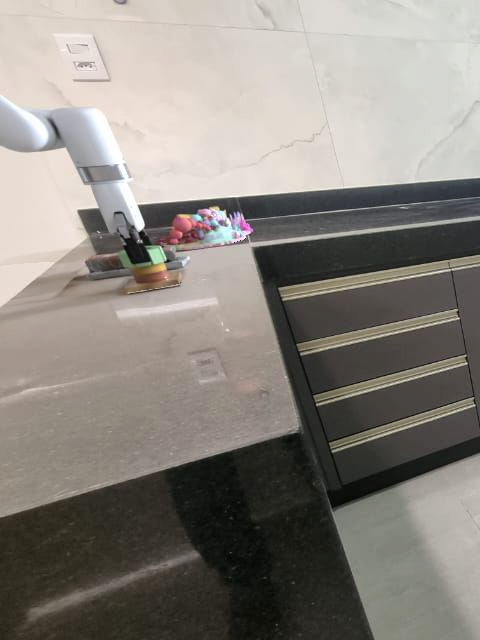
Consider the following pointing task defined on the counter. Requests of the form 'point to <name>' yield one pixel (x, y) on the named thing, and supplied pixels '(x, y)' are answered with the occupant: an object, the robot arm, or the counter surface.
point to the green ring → (154, 253)
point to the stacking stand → (151, 278)
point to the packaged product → (113, 267)
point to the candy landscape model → (205, 230)
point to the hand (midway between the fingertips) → (144, 258)
